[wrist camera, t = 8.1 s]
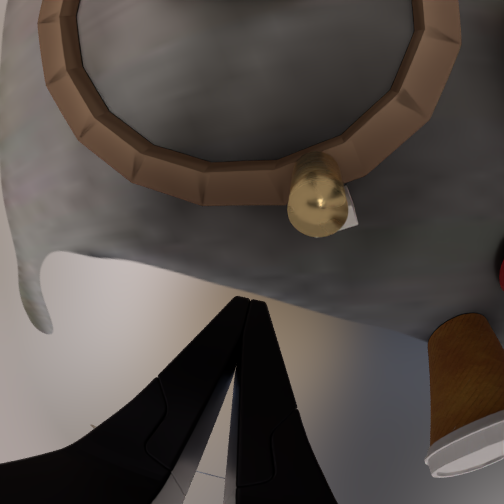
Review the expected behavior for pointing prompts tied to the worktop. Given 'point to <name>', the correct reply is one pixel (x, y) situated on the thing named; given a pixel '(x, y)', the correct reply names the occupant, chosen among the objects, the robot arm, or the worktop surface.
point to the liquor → (502, 276)
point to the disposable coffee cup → (465, 397)
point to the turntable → (262, 171)
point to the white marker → (349, 212)
